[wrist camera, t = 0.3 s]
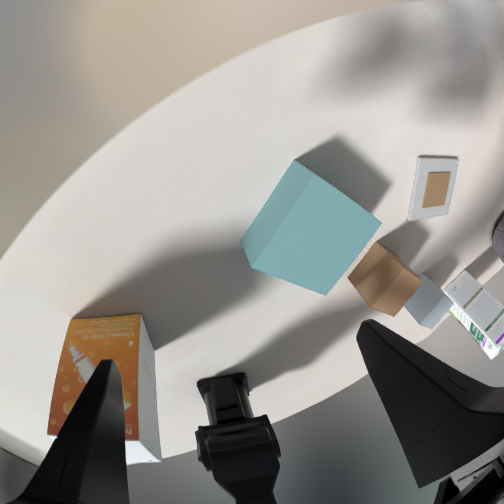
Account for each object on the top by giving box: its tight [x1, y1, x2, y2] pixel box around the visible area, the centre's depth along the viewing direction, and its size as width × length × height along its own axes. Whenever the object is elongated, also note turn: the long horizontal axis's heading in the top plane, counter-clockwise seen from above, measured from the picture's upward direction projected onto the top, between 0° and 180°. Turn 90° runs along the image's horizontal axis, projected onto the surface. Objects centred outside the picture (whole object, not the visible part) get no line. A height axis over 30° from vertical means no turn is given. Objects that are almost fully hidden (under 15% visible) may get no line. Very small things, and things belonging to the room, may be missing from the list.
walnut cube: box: [348, 242, 423, 317], centre depth 28 cm, size 5×5×5 cm
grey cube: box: [404, 273, 454, 329], centre depth 33 cm, size 5×5×5 cm
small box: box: [47, 313, 162, 463], centre depth 20 cm, size 8×6×13 cm
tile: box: [407, 157, 459, 221], centre depth 25 cm, size 7×7×1 cm
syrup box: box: [443, 270, 504, 359], centre depth 33 cm, size 6×6×14 cm
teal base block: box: [241, 160, 382, 295], centre depth 23 cm, size 8×8×4 cm
